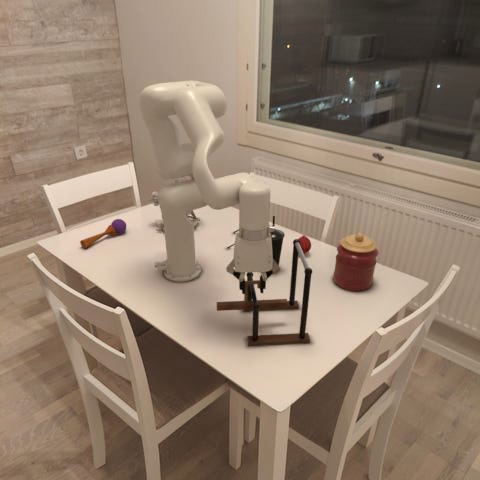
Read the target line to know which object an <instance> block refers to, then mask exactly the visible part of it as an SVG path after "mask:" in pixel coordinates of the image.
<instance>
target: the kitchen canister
mask: <svg viewBox="0 0 480 480" xmlns="http://www.w3.org/2000/svg"><path fill="white" fill-rule="evenodd" d="M336 252H337V254H336V255H335V264H334V265H335V266H334V270H333V274H332V278H333V282H334V283H335V284H336V285H337V286H338V287H340V288H342V289H344V290H347V291H352V292H359V291H365V290H368V289H369V288H370V287H371V286H372V284H373V282H374V276H375V275H374V274H375V269H376V265H377V259H376V258H377V257H378V255H379V250H378V245H377V242H376V241H374V240H373V239H372V238H371V237H369V236H367V235H364V234H363V233H361V232H359V233H356V234H350V235H347V236H345V237H343V238H341V240H340V243H339V244H338V245H337V246H336Z"/></svg>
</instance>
